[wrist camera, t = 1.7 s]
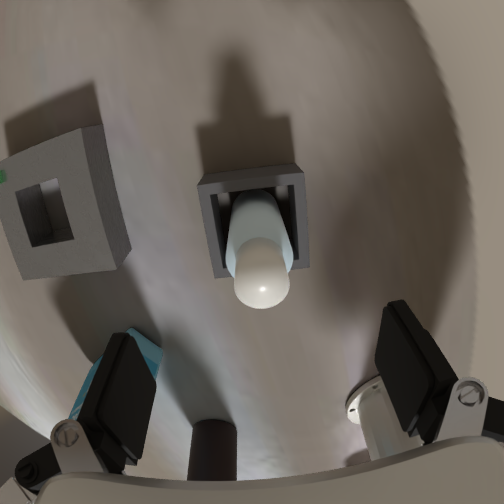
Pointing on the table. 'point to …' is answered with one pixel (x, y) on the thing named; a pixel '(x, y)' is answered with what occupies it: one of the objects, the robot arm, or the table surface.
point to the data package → (146, 347)
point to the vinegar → (213, 452)
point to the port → (76, 204)
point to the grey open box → (245, 181)
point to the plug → (258, 250)
